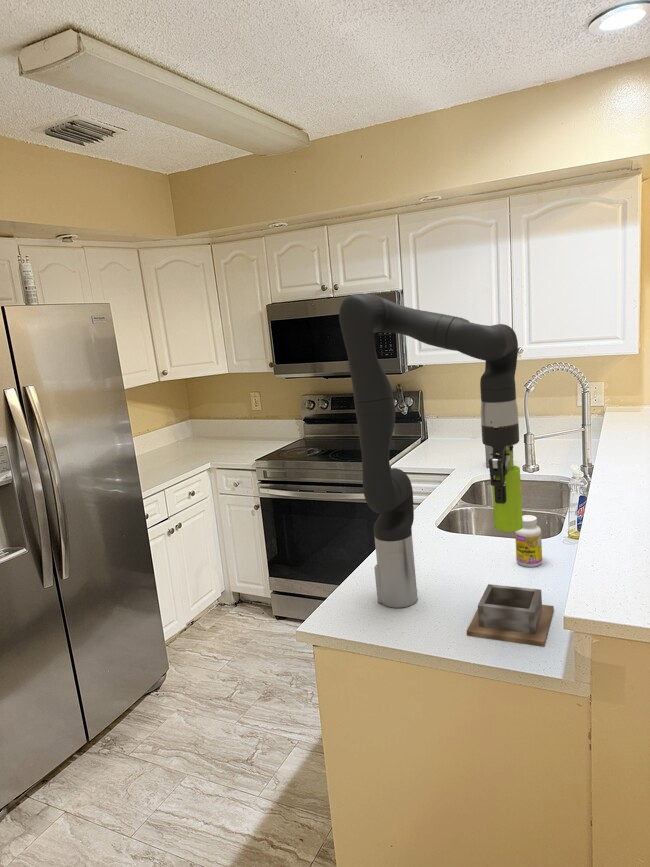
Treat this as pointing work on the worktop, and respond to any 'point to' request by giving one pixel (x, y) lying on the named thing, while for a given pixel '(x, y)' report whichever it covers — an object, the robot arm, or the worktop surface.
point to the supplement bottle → (529, 543)
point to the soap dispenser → (509, 501)
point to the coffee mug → (488, 454)
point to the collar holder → (512, 615)
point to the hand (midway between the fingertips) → (503, 497)
